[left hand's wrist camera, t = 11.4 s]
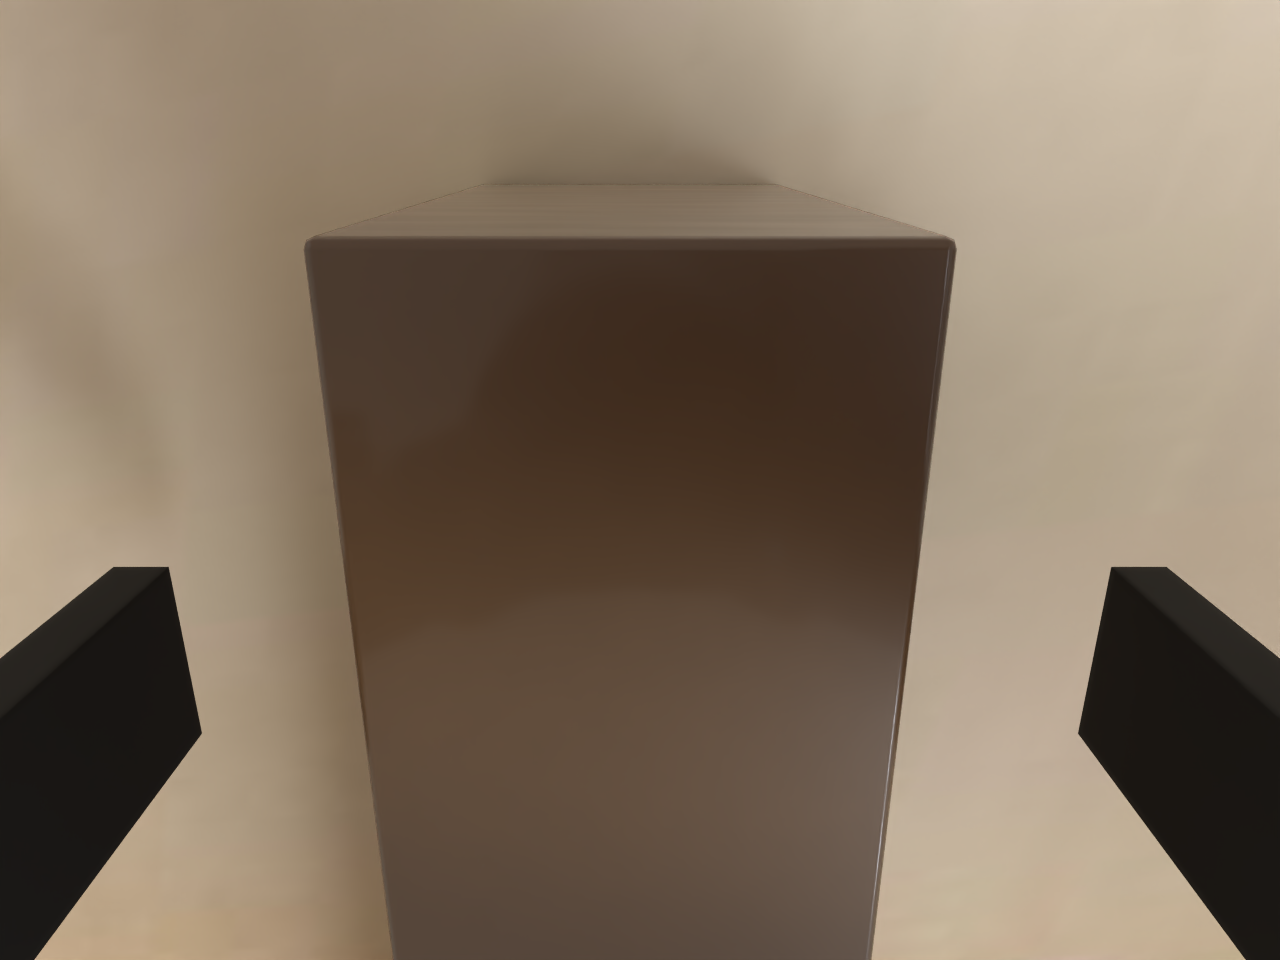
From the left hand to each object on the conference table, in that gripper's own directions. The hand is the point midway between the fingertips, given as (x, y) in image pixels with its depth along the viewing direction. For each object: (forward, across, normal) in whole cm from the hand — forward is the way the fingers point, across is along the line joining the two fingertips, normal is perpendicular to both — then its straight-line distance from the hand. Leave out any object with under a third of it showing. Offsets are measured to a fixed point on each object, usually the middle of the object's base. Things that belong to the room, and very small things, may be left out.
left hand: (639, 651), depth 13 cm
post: (+5, 0, -31) cm, 32 cm away
